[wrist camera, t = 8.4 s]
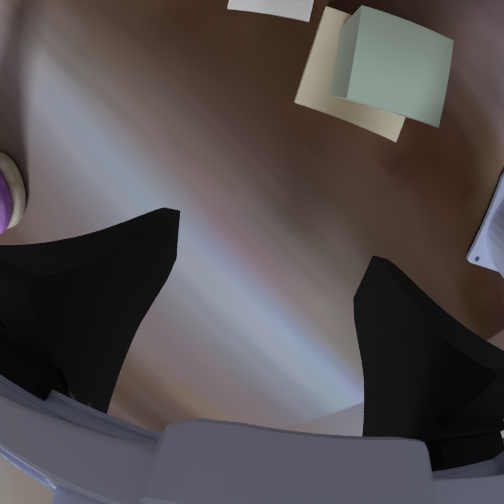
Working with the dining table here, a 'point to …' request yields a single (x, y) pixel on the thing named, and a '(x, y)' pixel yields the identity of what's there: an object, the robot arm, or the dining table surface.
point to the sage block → (392, 65)
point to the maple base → (320, 78)
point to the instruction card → (276, 7)
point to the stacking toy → (10, 194)
